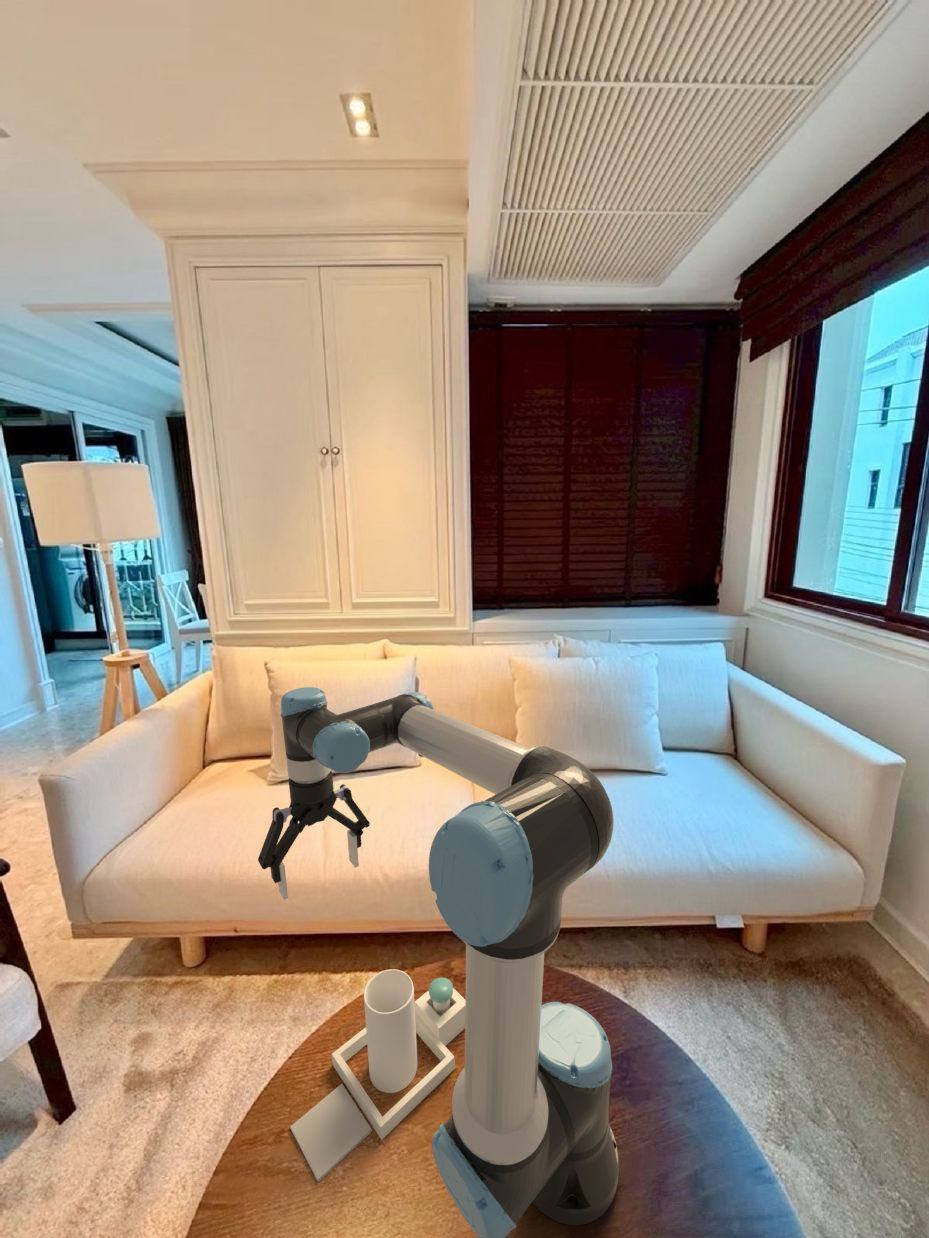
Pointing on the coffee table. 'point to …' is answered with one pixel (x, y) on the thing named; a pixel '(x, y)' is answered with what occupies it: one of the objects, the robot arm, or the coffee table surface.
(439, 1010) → the mint mushroom button
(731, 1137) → the coffee table surface
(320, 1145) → the pad
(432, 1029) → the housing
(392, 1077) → the cup
